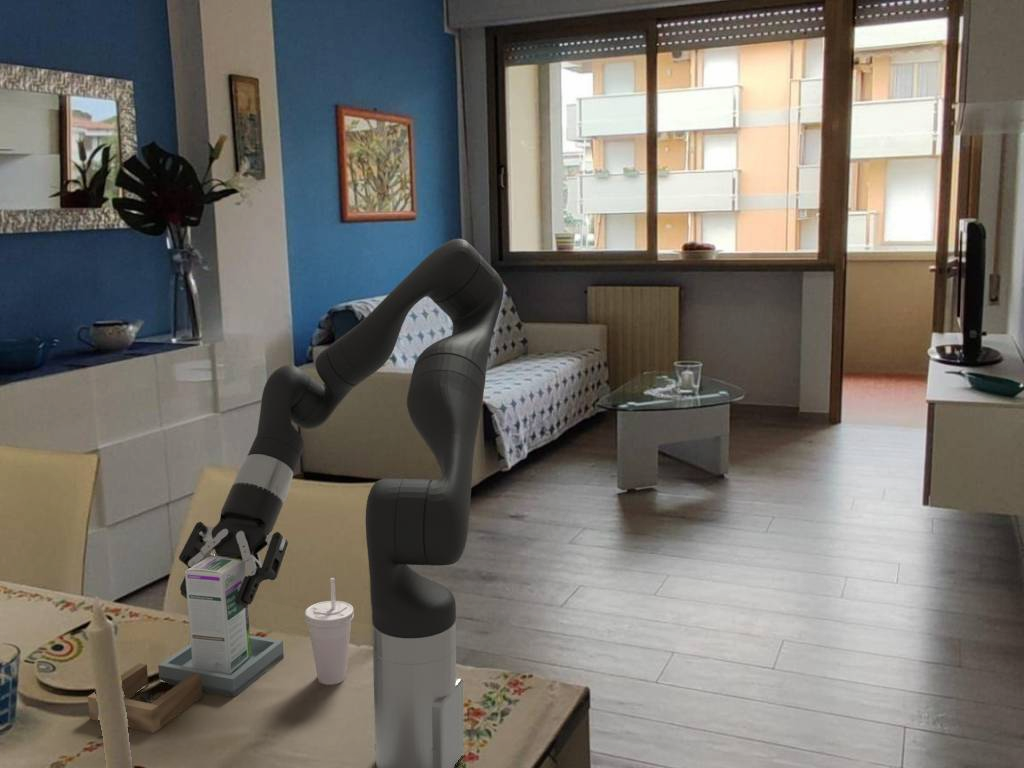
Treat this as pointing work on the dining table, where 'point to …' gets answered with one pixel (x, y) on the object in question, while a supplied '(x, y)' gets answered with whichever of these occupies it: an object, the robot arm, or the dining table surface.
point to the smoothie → (330, 637)
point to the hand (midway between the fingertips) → (212, 601)
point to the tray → (231, 685)
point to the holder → (157, 711)
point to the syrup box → (217, 614)
